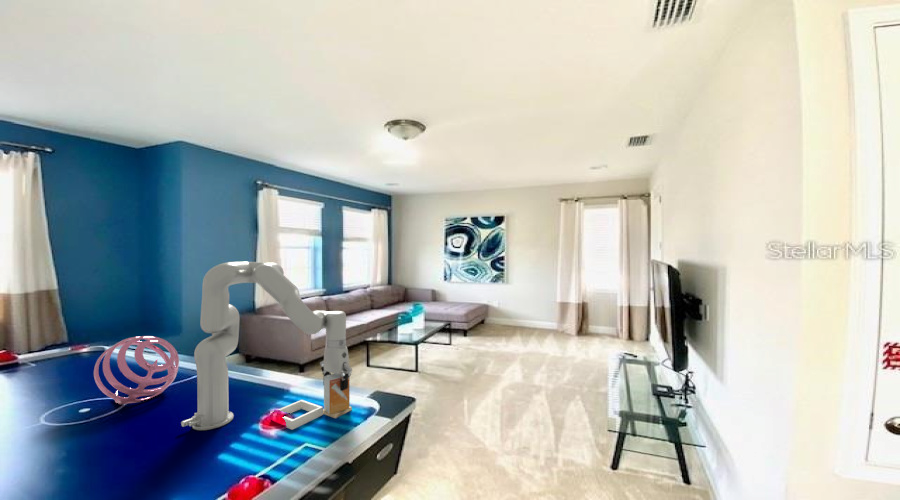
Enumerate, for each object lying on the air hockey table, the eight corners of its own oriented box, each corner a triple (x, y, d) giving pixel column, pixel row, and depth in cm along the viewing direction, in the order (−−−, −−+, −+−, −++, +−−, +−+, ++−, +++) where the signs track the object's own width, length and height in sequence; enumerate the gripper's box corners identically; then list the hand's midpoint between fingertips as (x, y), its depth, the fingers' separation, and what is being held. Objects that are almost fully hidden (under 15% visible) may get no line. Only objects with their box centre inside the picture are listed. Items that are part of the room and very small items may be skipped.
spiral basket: (74, 357, 146) (115, 322, 141) (150, 354, 171) (187, 325, 166) (76, 422, 134) (121, 387, 130) (158, 410, 160) (197, 380, 155)
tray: (292, 429, 122) (292, 421, 122) (270, 420, 129) (270, 412, 129) (323, 414, 133) (322, 406, 133) (301, 407, 140) (301, 399, 140)
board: (335, 418, 130) (335, 415, 130) (321, 413, 134) (321, 410, 134) (351, 409, 137) (351, 406, 137) (338, 405, 141) (337, 402, 141)
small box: (329, 414, 130) (329, 380, 130) (323, 409, 135) (323, 375, 135) (350, 408, 135) (349, 375, 136) (343, 403, 140) (343, 371, 140)
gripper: (358, 344, 134) (358, 388, 134) (328, 338, 144) (328, 379, 143) (343, 348, 128) (343, 395, 128) (313, 342, 137) (313, 385, 137)
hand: (335, 386), depth 136 cm, fingers open, 9 cm apart
